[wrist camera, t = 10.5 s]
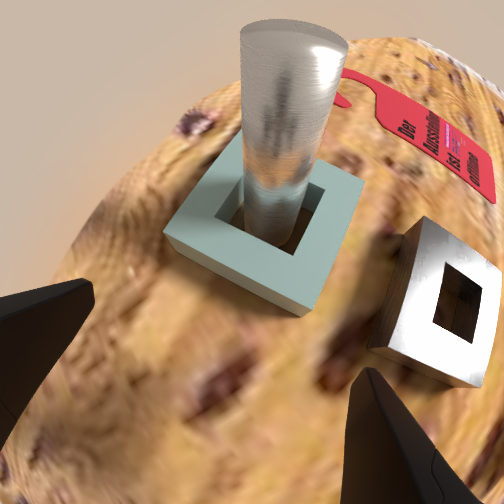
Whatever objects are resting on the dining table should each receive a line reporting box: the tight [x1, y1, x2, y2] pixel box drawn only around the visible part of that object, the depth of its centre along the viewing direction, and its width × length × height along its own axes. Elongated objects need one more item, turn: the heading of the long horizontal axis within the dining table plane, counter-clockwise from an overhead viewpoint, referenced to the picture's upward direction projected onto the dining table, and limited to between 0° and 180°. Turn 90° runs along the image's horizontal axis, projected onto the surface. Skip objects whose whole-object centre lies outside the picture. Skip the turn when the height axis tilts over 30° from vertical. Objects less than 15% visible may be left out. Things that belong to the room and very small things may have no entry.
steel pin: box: [240, 19, 348, 248], centre depth 12 cm, size 3×3×13 cm
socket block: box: [366, 216, 502, 388], centre depth 14 cm, size 9×9×3 cm
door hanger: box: [333, 68, 496, 204], centre depth 23 cm, size 9×1×25 cm
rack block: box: [163, 129, 365, 317], centre depth 17 cm, size 9×9×3 cm
